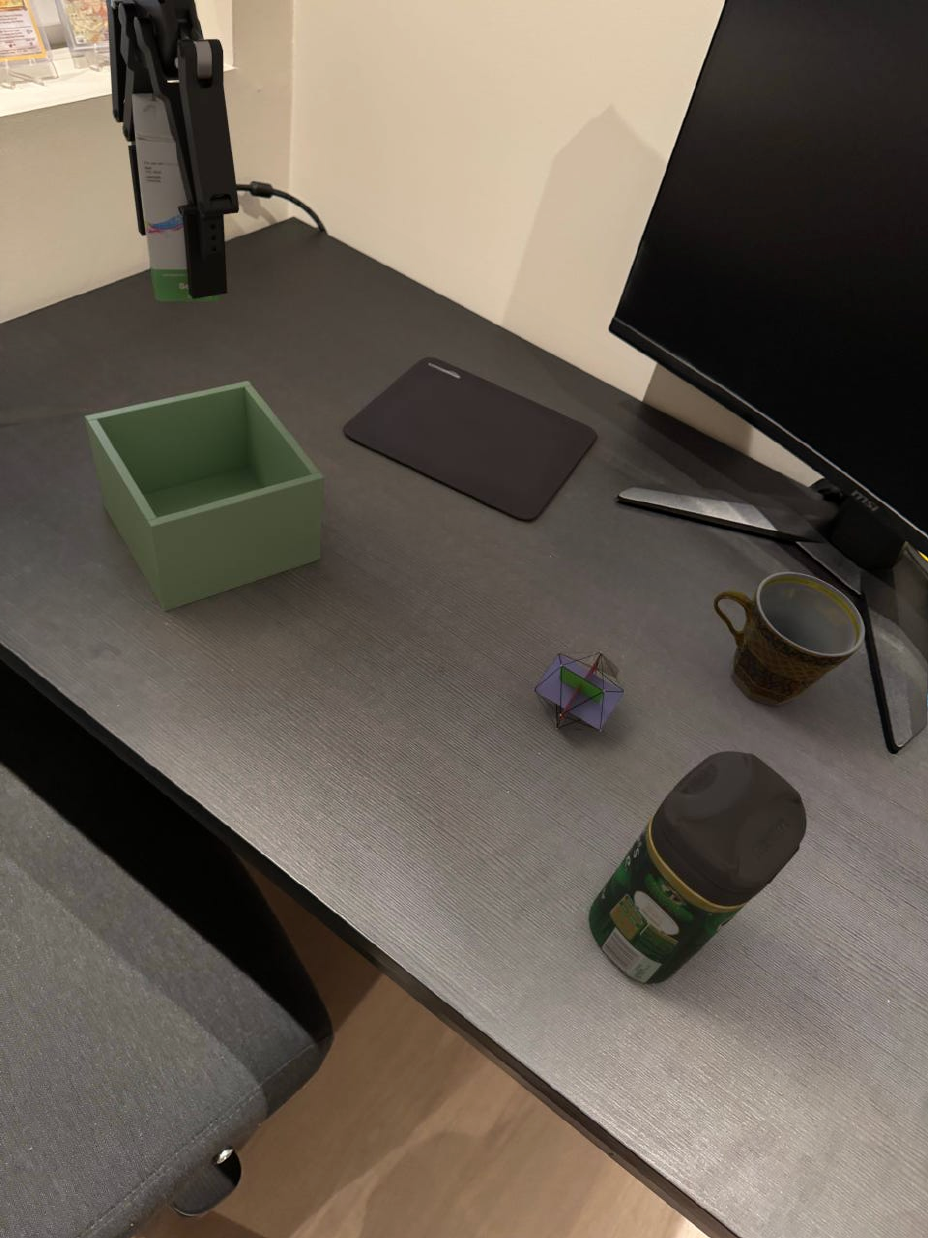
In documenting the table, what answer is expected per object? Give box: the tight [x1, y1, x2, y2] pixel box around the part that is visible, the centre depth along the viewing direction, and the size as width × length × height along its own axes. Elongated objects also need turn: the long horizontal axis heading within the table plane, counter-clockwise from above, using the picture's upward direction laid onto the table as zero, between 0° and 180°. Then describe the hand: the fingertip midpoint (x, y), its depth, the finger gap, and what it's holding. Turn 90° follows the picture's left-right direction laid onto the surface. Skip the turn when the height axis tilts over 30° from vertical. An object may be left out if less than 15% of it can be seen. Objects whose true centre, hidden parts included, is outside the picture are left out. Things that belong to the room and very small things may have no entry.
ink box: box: [132, 93, 220, 302], centre depth 62 cm, size 8×5×12 cm, turn 16°
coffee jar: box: [588, 750, 808, 985], centre depth 57 cm, size 10×8×19 cm
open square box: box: [84, 380, 325, 612], centre depth 79 cm, size 16×16×10 cm
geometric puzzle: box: [532, 651, 626, 732], centre depth 73 cm, size 7×7×8 cm
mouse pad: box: [342, 356, 597, 521], centre depth 100 cm, size 25×21×1 cm
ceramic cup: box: [713, 571, 866, 708], centre depth 79 cm, size 13×10×10 cm
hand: (181, 261), depth 66 cm, fingers closed on ink box, 9 cm apart
